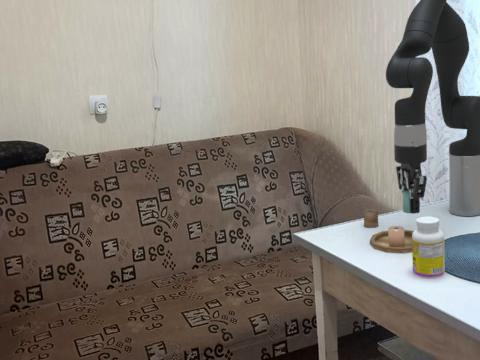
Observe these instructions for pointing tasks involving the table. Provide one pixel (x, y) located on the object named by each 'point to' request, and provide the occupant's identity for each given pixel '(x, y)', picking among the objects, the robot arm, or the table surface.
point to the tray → (382, 242)
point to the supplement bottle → (428, 248)
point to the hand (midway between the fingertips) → (411, 210)
